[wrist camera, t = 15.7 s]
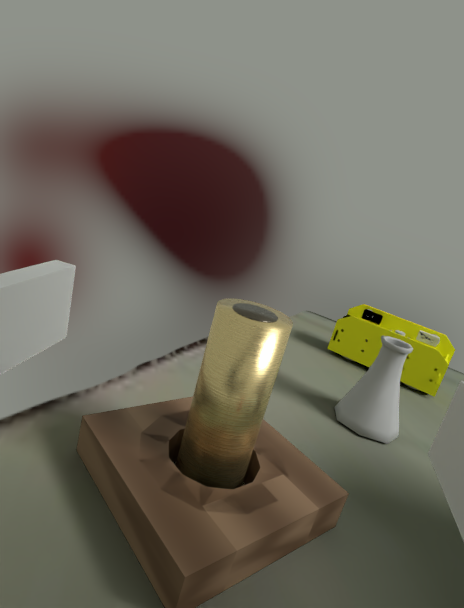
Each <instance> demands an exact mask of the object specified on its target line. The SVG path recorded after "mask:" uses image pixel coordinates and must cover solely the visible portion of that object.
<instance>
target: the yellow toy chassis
mask: <svg viewBox="0 0 464 608" xmlns="http://www.w3.org/2000/svg"><path fill="white" fill-rule="evenodd" d="M367 309H371V310H372V311H373V312H372V311H369V310H367ZM367 316H369V317H367ZM372 316H373V318H372ZM432 334H436V335H438V336H439V337H437V336H435V335H432ZM384 336H390V337H393V338H396V339H400V340H402V341H404V342H406V343H408V344H410V345H411V346H412V348H413V351H412V352H411V353H409V354H408V355H407V357H406V359H405V362H404V364H403V369H402V374H401V378H400V381H401V382H403V383H404V384H405V385H407V386H408V387H410V388H413V389H415V390H420V391H423V392H425V393H428V394H430V395H432V396H434V397H435V395H436V392H437V390H438V388H439V386H440V383H441V381H442V379H443V377H444V375H445V372H446V370H447V368H448V366H449V362H450V360H451V358H452V356H453V354H454V351H455V349H454V347H453V346H452V344H451V342H450V341H449V339H448V338H447V336H446V335H444V334H442V333H439V332H436V331H434V330H431V329H429V328H426V327H423V326H421V325H418V324H415V323H413V322H410V321H407V320H405V319H402V318H399V317H396V316H394V315H392V314H389V313H386V312H384V311H381V310H378V309H376V308H373V307H370V306H368V305H365V304H363V305H359V306H356V307H353V308H350V309H349V311H348V314H347V315H346V316H344V317H343V318H341V319H338V320H337V323H336V326H335V329H334V331H333V334H332V337H331V340H330V343H329V346H328V348H327V349H329V350H331V351H334V352H336V353H338V354H340V355H342V356H343V357H344V358H346V359H348V360H351V361H355V362H358V363H361V364H363V365H365V366H367V367H369V369H370V367H371V366H372V364H373V362H374V361H375V359H376V358H377V356H378V354H379V352H380V349H381V347H382V342H381V339H382V337H384ZM427 338H429V339H427ZM439 339H440V343H439V344H438V345H437V343H438V341H439ZM431 341H433V342H431Z"/></svg>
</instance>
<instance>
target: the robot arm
mask: <svg viewBox="0 0 464 608" xmlns="http://www.w3.org/2000/svg"><path fill="white" fill-rule="evenodd" d="M75 267H76V266H75V265H71V264H68V263H65V262H61V261H58V260H54V261H50V262H46V263H42V264H38V265H34V266H30V267H26V268H22V269H18V270H14V271H10V272H6V273H3V274H0V375H1V374H3V373H4V372H6V371H8V370H10V369H11V368H13V367H15V366H17V365H19V364H20V363H22V362H24V361H26V360H27V359H29V358H31V357H33V356H34V355H36V354H38V353H40V352H41V351H43V350H45V349H47V348H48V347H50V346H52V345H54V344H55V343H57V342H59V341H61V340H63V339H64V338H66V337H67V329H68V321H69V314H70V306H71V299H72V298H71V297H72V291H73V283H74V276H75ZM428 456H429V458H430V460H431V463H432V465H433V468H434V470H435V473H436V475H437V478H438V480H439V483H440V485H441V487H442V490H443V492H444V495H445V497H446V500H447V502H448V505H449V507H450V510H451V512H452V515H453V517H454V519H455V522H456V524H457V527H458V529H459V532H460V534H461V537H462V539H463V542H464V381H462V380H461V381H460V383H459V385H458V388H457V390H456V392H455V394H454V397H453V399H452V401H451V403H450V405H449V408H448V410H447V412H446V414H445V417H444V419H443V421H442V423H441V425H440V428H439V430H438V432H437V434H436V437H435V439H434V441H433V443H432V445H431V448H430V450H429V452H428Z"/></svg>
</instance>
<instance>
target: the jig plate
mask: <svg viewBox="0 0 464 608" xmlns="http://www.w3.org/2000/svg"><path fill="white" fill-rule="evenodd" d="M192 399H193V397H188V398H182V399H176V400H170V401H165V402H159V403H153V404H147V405H142V406H136V407H130V408H124V409H119V410H113V411H107V412H101V413H96V414H90V415H84V416H82V422H81V427H80V433H79V439H78V444H77V452H78V454H79V455H80V457H81V459H82V461H83V463H84V464H85V466H86V468H87V470H88V472H89V473H90V475H91V477H92V479H93V480H94V482H95V484H96V486H97V488H98V489H99V491H100V493H101V495H102V496H103V498H104V500H105V502H106V504H107V505H108V507H109V509H110V511H111V513H112V514H113V516H114V518H115V520H116V521H117V523H118V525H119V527H120V529H121V530H122V532H123V534H124V536H125V537H126V539H127V541H128V543H129V545H130V546H131V548H132V550H133V552H134V554H135V555H136V557H137V559H138V561H139V562H140V564H141V566H142V568H143V570H144V571H145V573H146V575H147V577H148V578H149V580H150V582H151V584H152V586H153V587H154V589H155V591H156V593H157V595H158V596H159V598H160V600H161V602H162V603H163V605H164V607H165V608H195V607H197V606H199V605H200V604H202V603H204V602H206V601H207V600H209V599H211V598H213V597H214V596H216V595H218V594H219V593H221V592H223V591H225V590H226V589H228V588H230V587H232V586H233V585H235V584H237V583H238V582H240V581H242V580H244V579H245V578H247V577H249V576H251V575H252V574H254V573H256V572H257V571H259V570H261V569H263V568H264V567H266V566H268V565H270V564H271V563H273V562H275V561H276V560H278V559H280V558H282V557H283V556H285V555H287V554H289V553H290V552H292V551H294V550H295V549H297V548H299V547H301V546H302V545H304V544H306V543H308V542H309V541H311V540H313V539H314V538H316V537H318V536H320V535H321V534H323V533H325V532H327V531H328V530H330V529H332V528H334V527H335V526H336V524H337V521H338V519H339V516H340V514H341V512H342V509H343V507H344V504H345V502H346V499H347V497H348V495H349V493H348V492H347V491H345V490H344V489H343V488H342V487H341V486H340V485H339V484H337V483H336V482H335V481H334V480H333V479H332V478H330V477H329V476H328V475H327V474H326V473H325V472H324V471H322V470H321V469H320V468H319V467H318V466H317V465H315V464H314V463H313V462H312V461H311V460H310V459H309V458H307V457H306V456H305V455H304V454H303V453H302V452H300V451H299V450H298V449H297V448H296V447H295V446H294V445H292V444H291V443H290V442H289V441H288V440H287V439H285V438H284V437H283V436H282V435H281V434H280V433H279V432H277V431H276V430H275V429H274V428H273V427H272V426H270V425H269V424H268V423H267V422H266V421H265V420H264V419H263V420H262V423H261V427H260V430H259V433H258V436H257V439H256V442H255V445H254V449H253V452H252V455H251V458H250V461H249V464H248V467H247V471H246V474H245V477H244V480H243V482H244V483H245V485H244V486H241V487H239V488H236V489H223V488H213V487H206V486H204V485H202V484H200V483H198V482H196V481H194V480H192V479H190V478H188V477H186V476H184V475H182V473H181V472H180V471H179V470H178V468H177V467H176V466H175V465H174V463H173V462H174V461H177V457H178V454H179V450H180V446H181V442H182V438H183V434H184V430H185V426H186V423H187V419H188V415H189V411H190V407H191V403H192Z"/></svg>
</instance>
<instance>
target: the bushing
mask: <svg viewBox="0 0 464 608" xmlns="http://www.w3.org/2000/svg"><path fill="white" fill-rule="evenodd" d="M292 326H293V322H292V320H291V319H290V318H289V317H288V316H286V315H285V314H283V313H281V312H280V311H278V310H275V309H273V308H271V307H268V306H265V305H262V304H259V303H256V302H252V301H247V300H242V299H223V300H220V301H218V303H217V306H216V310H215V314H214V318H213V322H212V326H211V330H210V333H209V337H208V341H207V345H206V349H205V353H204V357H203V361H202V364H201V368H200V372H199V376H198V380H197V384H196V388H195V392H194V395H193V399H192V403H191V407H190V411H189V415H188V419H187V423H186V426H185V430H184V434H183V438H182V442H181V446H180V450H179V454H178V457H177V461H176V465H175V466H176V467H177V468H178V470H179V471H180V472H181V473H182V475H184V476H186V477H188V478H190V479H192V480H194V481H196V482H198V483H200V484H202V485H204V486H206V487H213V488H223V489H236V488H239V487H241V486H242V483H243V480H244V477H245V474H246V471H247V467H248V464H249V461H250V458H251V455H252V452H253V449H254V445H255V442H256V439H257V436H258V433H259V430H260V427H261V423H262V420H263V417H264V414H265V411H266V408H267V405H268V401H269V398H270V395H271V392H272V389H273V386H274V383H275V379H276V376H277V373H278V370H279V367H280V364H281V361H282V357H283V354H284V351H285V348H286V345H287V342H288V339H289V335H290V332H291V329H292Z"/></svg>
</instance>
